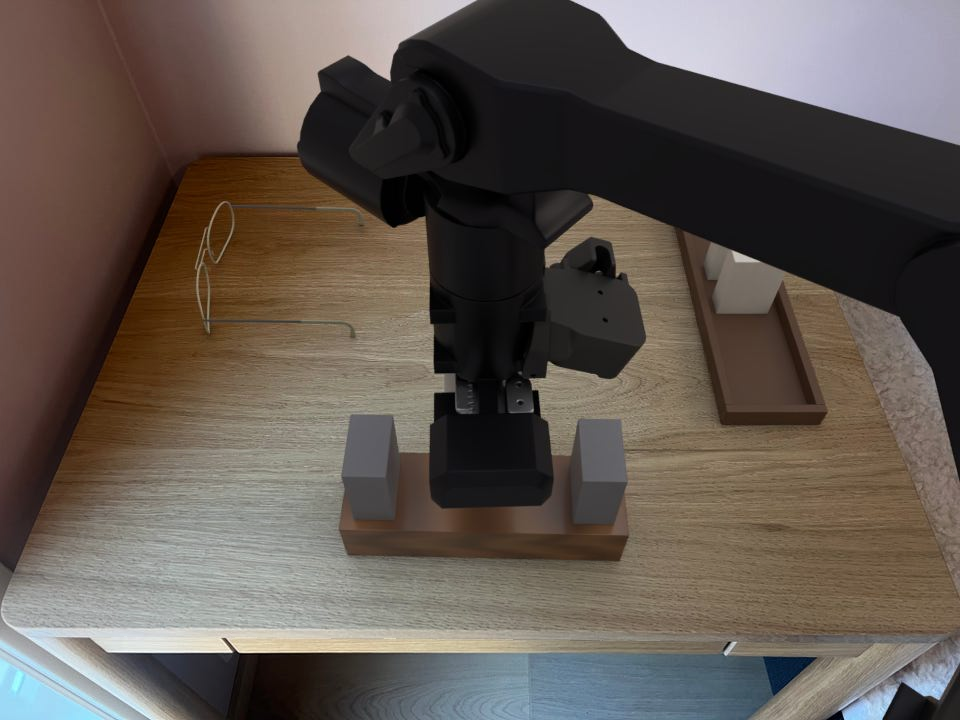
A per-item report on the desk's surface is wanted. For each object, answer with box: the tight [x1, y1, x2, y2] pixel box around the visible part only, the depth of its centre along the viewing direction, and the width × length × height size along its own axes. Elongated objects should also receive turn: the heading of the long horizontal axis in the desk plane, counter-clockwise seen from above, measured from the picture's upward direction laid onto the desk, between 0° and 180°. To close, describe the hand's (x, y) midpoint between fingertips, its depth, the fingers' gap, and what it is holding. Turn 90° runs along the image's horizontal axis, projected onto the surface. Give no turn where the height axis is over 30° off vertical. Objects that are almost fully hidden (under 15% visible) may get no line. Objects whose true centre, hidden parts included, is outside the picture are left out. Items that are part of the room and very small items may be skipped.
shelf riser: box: [338, 451, 630, 562], centre depth 58 cm, size 21×7×4 cm, turn 89°
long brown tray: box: [674, 227, 829, 426], centre depth 75 cm, size 35×9×2 cm, turn 0°
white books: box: [704, 242, 787, 314], centre depth 72 cm, size 7×5×7 cm
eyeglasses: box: [194, 200, 364, 338], centre depth 74 cm, size 16×15×5 cm
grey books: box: [340, 413, 629, 525], centre depth 54 cm, size 19×5×6 cm, turn 89°
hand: (484, 430), depth 50 cm, fingers closed on white book, 2 cm apart
